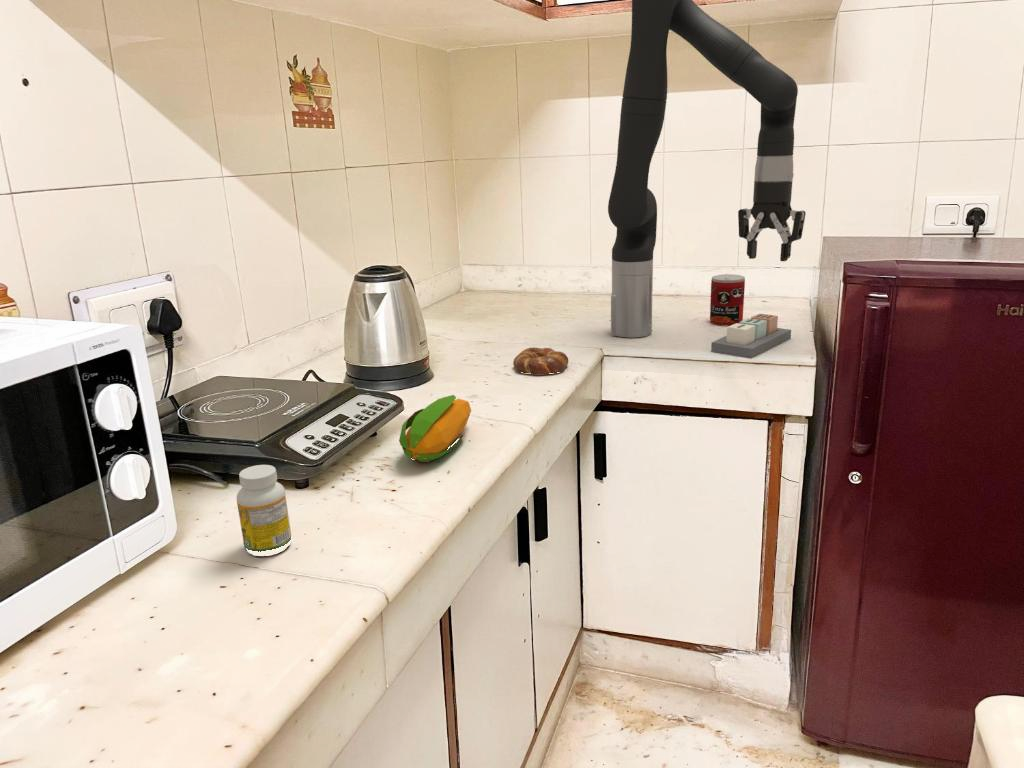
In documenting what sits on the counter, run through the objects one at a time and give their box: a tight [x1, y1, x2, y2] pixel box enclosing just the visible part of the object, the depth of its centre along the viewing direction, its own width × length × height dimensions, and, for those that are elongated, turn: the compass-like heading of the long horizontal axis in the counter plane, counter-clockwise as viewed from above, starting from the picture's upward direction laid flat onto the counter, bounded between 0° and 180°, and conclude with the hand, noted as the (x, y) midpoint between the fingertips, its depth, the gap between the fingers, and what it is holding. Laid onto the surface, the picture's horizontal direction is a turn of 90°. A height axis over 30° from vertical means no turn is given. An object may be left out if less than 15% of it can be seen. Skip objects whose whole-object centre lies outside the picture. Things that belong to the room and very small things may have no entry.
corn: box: [398, 394, 472, 463], centre depth 116 cm, size 7×8×20 cm
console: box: [710, 327, 792, 359], centre depth 164 cm, size 9×19×2 cm, turn 138°
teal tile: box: [739, 317, 767, 340], centre depth 164 cm, size 4×4×4 cm
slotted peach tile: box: [750, 313, 779, 334], centre depth 167 cm, size 4×4×4 cm
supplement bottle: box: [236, 464, 292, 552], centre depth 88 cm, size 5×5×10 cm
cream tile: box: [726, 323, 755, 345], centre depth 160 cm, size 4×4×4 cm
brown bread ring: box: [513, 347, 569, 375], centre depth 154 cm, size 12×11×4 cm
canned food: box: [709, 273, 746, 326], centre depth 183 cm, size 8×8×11 cm
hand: (768, 259), depth 163 cm, fingers open, 6 cm apart
